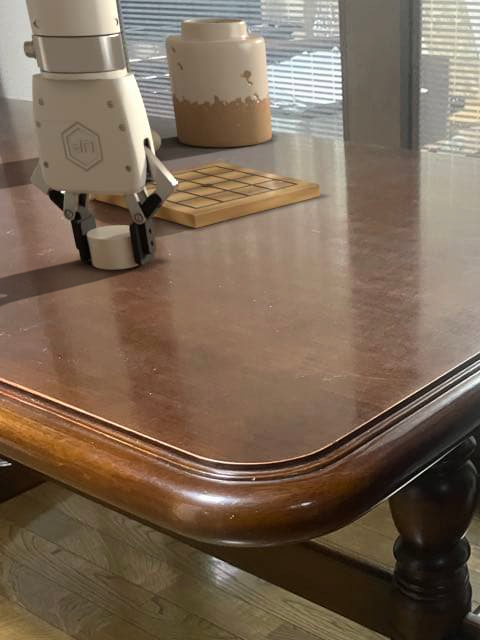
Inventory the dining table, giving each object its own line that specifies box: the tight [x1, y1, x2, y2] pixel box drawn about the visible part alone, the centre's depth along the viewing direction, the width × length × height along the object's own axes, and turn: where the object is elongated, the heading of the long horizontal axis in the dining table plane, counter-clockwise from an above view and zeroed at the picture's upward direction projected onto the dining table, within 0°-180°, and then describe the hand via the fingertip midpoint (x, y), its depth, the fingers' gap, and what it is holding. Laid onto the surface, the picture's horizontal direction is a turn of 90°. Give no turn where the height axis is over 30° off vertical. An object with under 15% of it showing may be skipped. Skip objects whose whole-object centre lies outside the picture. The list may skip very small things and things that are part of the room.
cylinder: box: [86, 224, 139, 271], centre depth 88 cm, size 5×5×3 cm
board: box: [94, 161, 321, 229], centre depth 111 cm, size 20×20×2 cm
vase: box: [164, 17, 273, 148], centre depth 139 cm, size 15×15×17 cm
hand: (117, 257), depth 89 cm, fingers closed on cylinder, 5 cm apart
